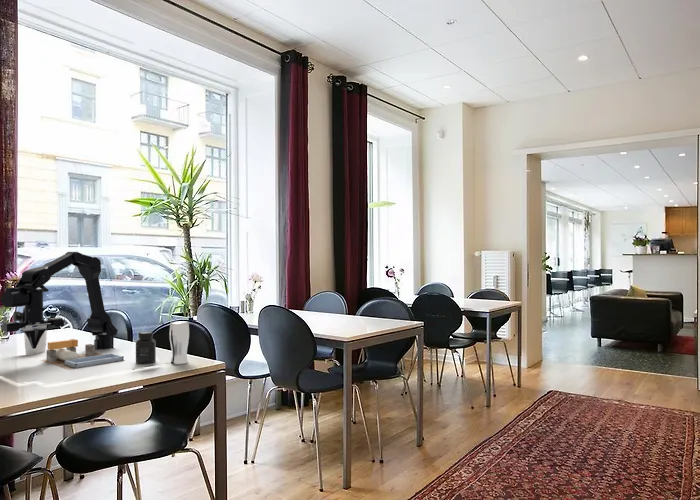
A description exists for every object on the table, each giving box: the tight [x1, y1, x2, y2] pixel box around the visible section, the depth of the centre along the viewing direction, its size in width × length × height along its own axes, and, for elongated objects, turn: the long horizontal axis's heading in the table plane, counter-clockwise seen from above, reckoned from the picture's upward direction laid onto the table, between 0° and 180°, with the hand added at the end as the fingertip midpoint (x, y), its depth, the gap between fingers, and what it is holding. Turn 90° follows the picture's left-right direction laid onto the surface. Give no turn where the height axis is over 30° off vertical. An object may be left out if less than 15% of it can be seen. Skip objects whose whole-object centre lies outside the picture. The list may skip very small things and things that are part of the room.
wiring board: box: [40, 343, 126, 371], centre depth 196 cm, size 20×24×5 cm
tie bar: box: [47, 338, 79, 350], centre depth 197 cm, size 10×3×2 cm, turn 140°
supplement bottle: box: [135, 331, 157, 368], centre depth 192 cm, size 7×7×12 cm
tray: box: [64, 353, 125, 369], centre depth 192 cm, size 17×9×2 cm, turn 140°
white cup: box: [23, 330, 48, 356], centre depth 211 cm, size 8×8×10 cm
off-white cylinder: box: [54, 348, 79, 361], centre depth 195 cm, size 12×4×4 cm, turn 50°
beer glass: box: [169, 320, 190, 366], centre depth 196 cm, size 7×7×15 cm
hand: (33, 348), depth 190 cm, fingers closed
